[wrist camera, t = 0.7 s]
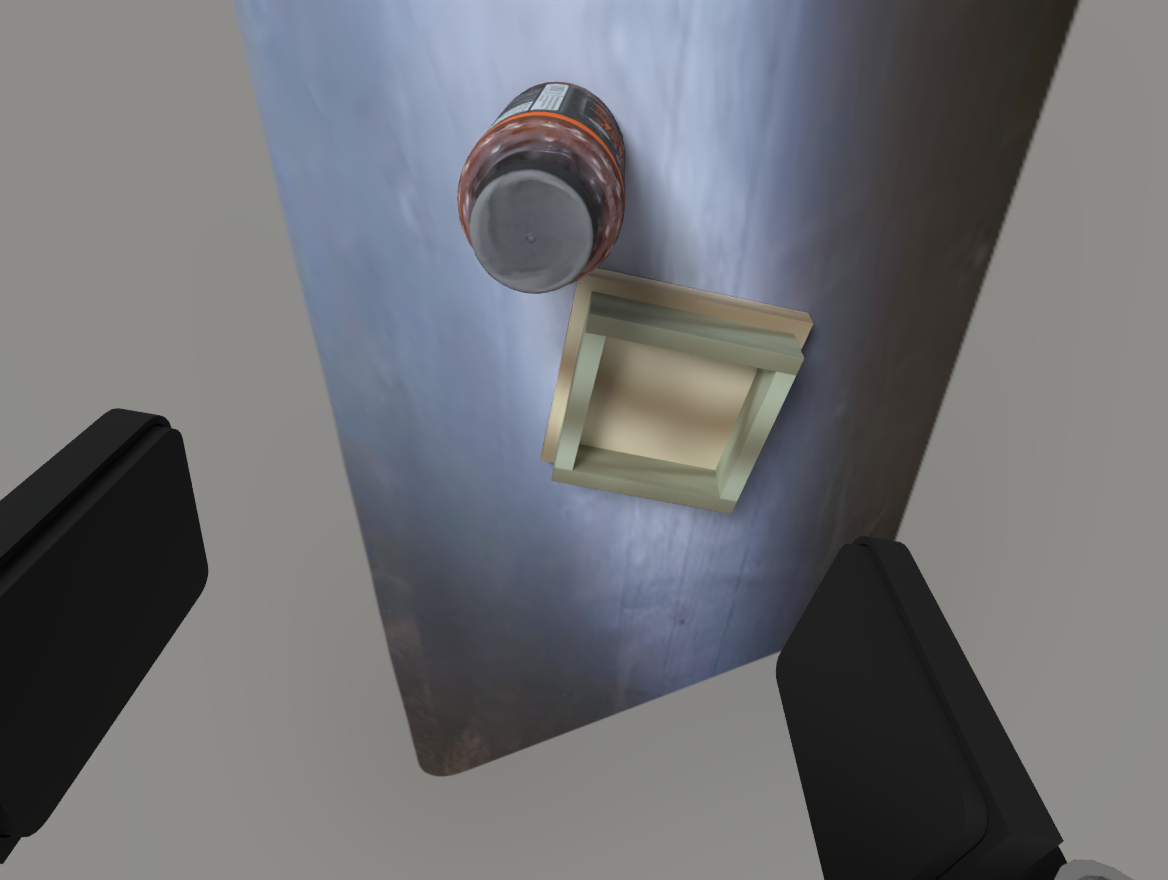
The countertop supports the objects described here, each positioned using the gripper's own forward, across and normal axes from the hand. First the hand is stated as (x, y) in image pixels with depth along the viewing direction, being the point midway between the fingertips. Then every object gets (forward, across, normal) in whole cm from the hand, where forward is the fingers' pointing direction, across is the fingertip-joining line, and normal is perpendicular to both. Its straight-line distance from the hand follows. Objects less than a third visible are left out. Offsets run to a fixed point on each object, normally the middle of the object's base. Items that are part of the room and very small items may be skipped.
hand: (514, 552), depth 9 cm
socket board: (+25, -7, +11) cm, 28 cm away
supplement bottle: (+25, +1, 0) cm, 25 cm away
